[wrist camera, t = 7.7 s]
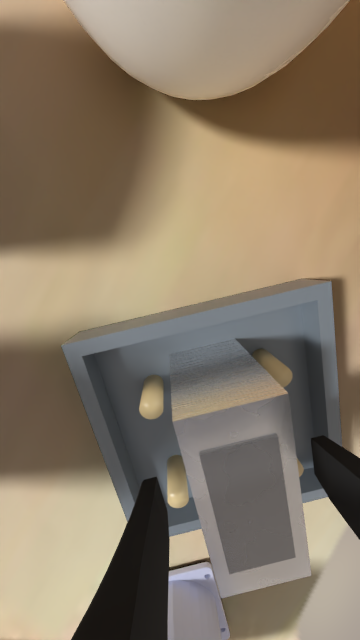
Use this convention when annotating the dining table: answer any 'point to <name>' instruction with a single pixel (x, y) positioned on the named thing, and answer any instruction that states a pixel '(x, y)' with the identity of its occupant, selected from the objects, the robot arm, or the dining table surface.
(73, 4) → the lidded bowl
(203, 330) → the tray
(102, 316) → the dining table surface
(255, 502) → the block
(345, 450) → the robot arm
